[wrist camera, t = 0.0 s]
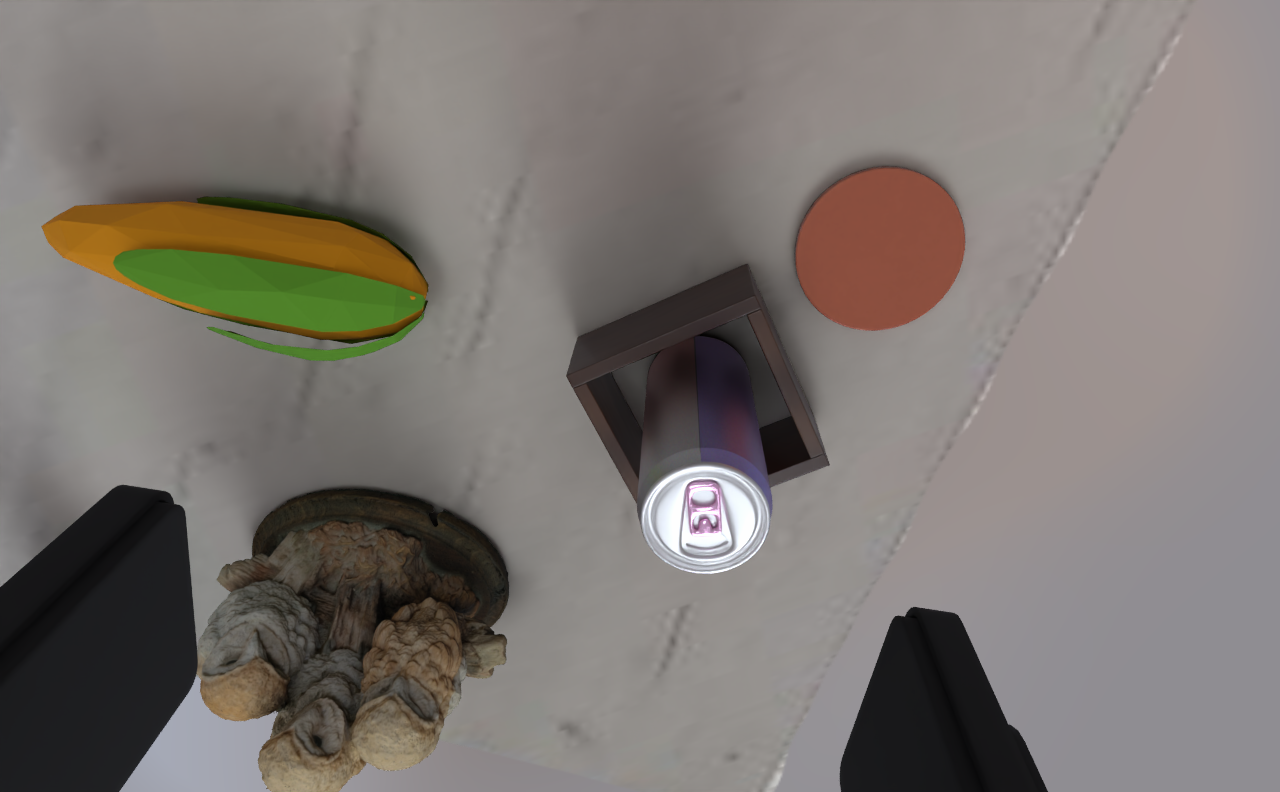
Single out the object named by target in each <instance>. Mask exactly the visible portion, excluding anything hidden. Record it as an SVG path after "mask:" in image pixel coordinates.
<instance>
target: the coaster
mask: <svg viewBox="0 0 1280 792" xmlns="http://www.w3.org/2000/svg"><path fill="white" fill-rule="evenodd" d="M964 250H965V232H964V225H963V221H962V217H961V215H960V212H959V210H958V208H957V206H956V204H955V203H954V201H953V199H952V198H951V197H950V195H949V194H948V193H947V192H946V191H945V190H944V189H943V188H942V187H941V186H940V185H939V184H938V183H936V182H935V181H933V180H932V179H930V178H929V177H927V176H925V175H923V174H921V173H919V172H917V171H913V170H910V169H907V168H901V167H889V166H883V167H874V168H869V169H865V170H861V171H858V172H855V173H853V174H850V175H848V176H846V177H844V178H843V179H841V180H839V181H837V182H836V183H835V184H833V185H832V186H830V187H829V188H828V189H827V190H826V191H825V192H823V193H822V194H821V195H820V196H819V198H818V199H817V200H816V201H815V202H814V203H813V205H812V206H811V208H810V209H809V210H808V212H807V214H806V216H805V217H804V219H803V221H802V224H801V226H800V229H799V232H798V235H797V240H796V245H795V266H796V272H797V276H798V279H799V282H800V285H801V287H802V289H803V291H804V293H805V295H806V296H807V298H808V299H809V301H810V302H811V303H812V304H813V306H814V307H815V308H816V309H817V310H818V311H819V312H821V313H822V314H823V315H824V316H825V317H827V318H829V319H830V320H832V321H834V322H836V323H838V324H840V325H843V326H846V327H849V328H853V329H859V330H871V331H875V330H885V329H890V328H895V327H898V326H901V325H904V324H907V323H909V322H911V321H913V320H915V319H917V318H919V317H920V316H922V315H923V314H925V313H926V312H928V311H929V310H930V309H931V308H933V307H934V306H935V305H936V304H937V303H938V302H939V301H940V300H941V299H942V298H943V297H944V295H945V294H946V293H947V292H948V290H949V289H950V287H951V286H952V284H953V282H954V281H955V279H956V277H957V274H958V272H959V270H960V267H961V264H962V261H963V256H964Z"/></svg>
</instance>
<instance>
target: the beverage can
mask: <svg viewBox="0 0 1280 792" xmlns="http://www.w3.org/2000/svg"><path fill="white" fill-rule="evenodd" d="M637 512H638V517H639V521H640V524H641V529H642V533H643V536H644V538H645V540H646V542H647V544H648V545H649V547H650V548H651V550H652V551H653V552H654V553H655V554H656V555H657V556H658V557H659V558H660V559H662V560H663V561H665V562H666V563H668V564H669V565H671V566H673V567H675V568H678V569H680V570H683V571H687V572H692V573H701V574H710V573H718V572H723V571H727V570H730V569H733V568H735V567H737V566H739V565H741V564H743V563H744V562H746V561H747V560H749V559H750V558H751V557H752V556H753V555H754V554H755V553H756V552H757V551H758V550H759V549H760V547H761V546H762V544H763V543H764V541H765V539H766V537H767V534H768V531H769V527H770V518H771V514H772V495H771V490H770V484H769V479H768V474H767V468H766V463H765V457H764V452H763V447H762V441H761V436H760V430H759V425H758V419H757V414H756V409H755V403H754V398H753V392H752V387H751V381H750V376H749V372H748V368H747V366H746V364H745V362H744V360H743V358H742V357H741V356H740V354H739V353H738V352H737V351H736V350H735V349H734V348H732V347H731V346H730V345H728V344H726V343H725V342H723V341H720V340H718V339H715V338H711V337H704V336H695V337H692V338H690V339H688V340H685V341H683V342H681V343H678V344H676V345H674V346H671V347H669V348H666V349H664V350H662V351H661V352H660V353H659V354H658V355H657V356H656V358H655V359H654V361H653V362H652V364H651V367H650V369H649V372H648V377H647V387H646V399H645V411H644V423H643V436H642V448H641V460H640V472H639V484H638V497H637Z"/></svg>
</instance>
